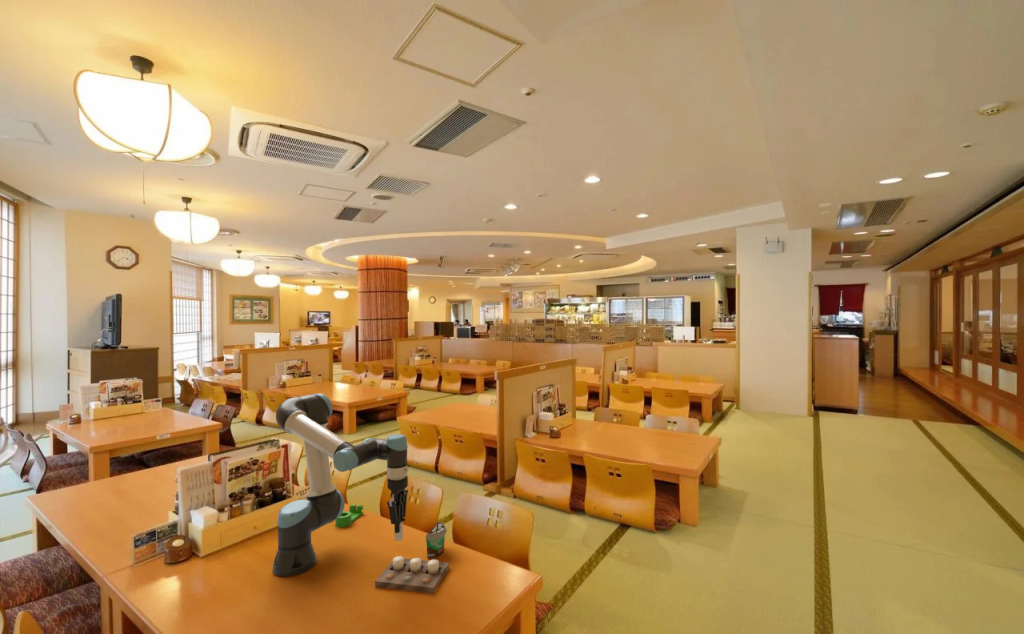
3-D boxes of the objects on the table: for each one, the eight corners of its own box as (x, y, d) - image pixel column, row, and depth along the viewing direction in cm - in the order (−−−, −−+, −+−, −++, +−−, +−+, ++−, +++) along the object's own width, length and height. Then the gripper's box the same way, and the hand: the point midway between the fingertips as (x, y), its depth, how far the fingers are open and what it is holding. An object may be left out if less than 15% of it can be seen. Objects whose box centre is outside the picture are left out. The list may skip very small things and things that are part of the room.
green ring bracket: (345, 528, 201) (345, 518, 201) (332, 527, 202) (332, 517, 202) (363, 514, 215) (363, 505, 215) (350, 513, 217) (350, 504, 217)
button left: (390, 570, 162) (390, 561, 162) (395, 564, 166) (395, 555, 166) (400, 571, 162) (400, 562, 162) (405, 565, 166) (405, 556, 166)
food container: (440, 561, 171) (440, 536, 171) (425, 560, 172) (425, 534, 172) (451, 545, 183) (450, 522, 183) (437, 544, 184) (437, 520, 184)
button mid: (408, 572, 161) (408, 563, 161) (412, 566, 165) (412, 557, 165) (418, 573, 160) (418, 564, 160) (422, 567, 164) (422, 558, 164)
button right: (426, 574, 160) (426, 564, 160) (430, 568, 164) (430, 559, 164) (436, 575, 159) (436, 565, 159) (440, 569, 163) (440, 560, 163)
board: (375, 586, 155) (375, 580, 155) (395, 562, 171) (395, 557, 171) (433, 593, 151) (433, 587, 151) (449, 568, 166) (449, 562, 166)
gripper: (399, 483, 157) (400, 549, 157) (414, 471, 170) (415, 532, 170) (379, 482, 159) (381, 547, 158) (396, 470, 172) (397, 531, 171)
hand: (398, 539), depth 164 cm, fingers closed
